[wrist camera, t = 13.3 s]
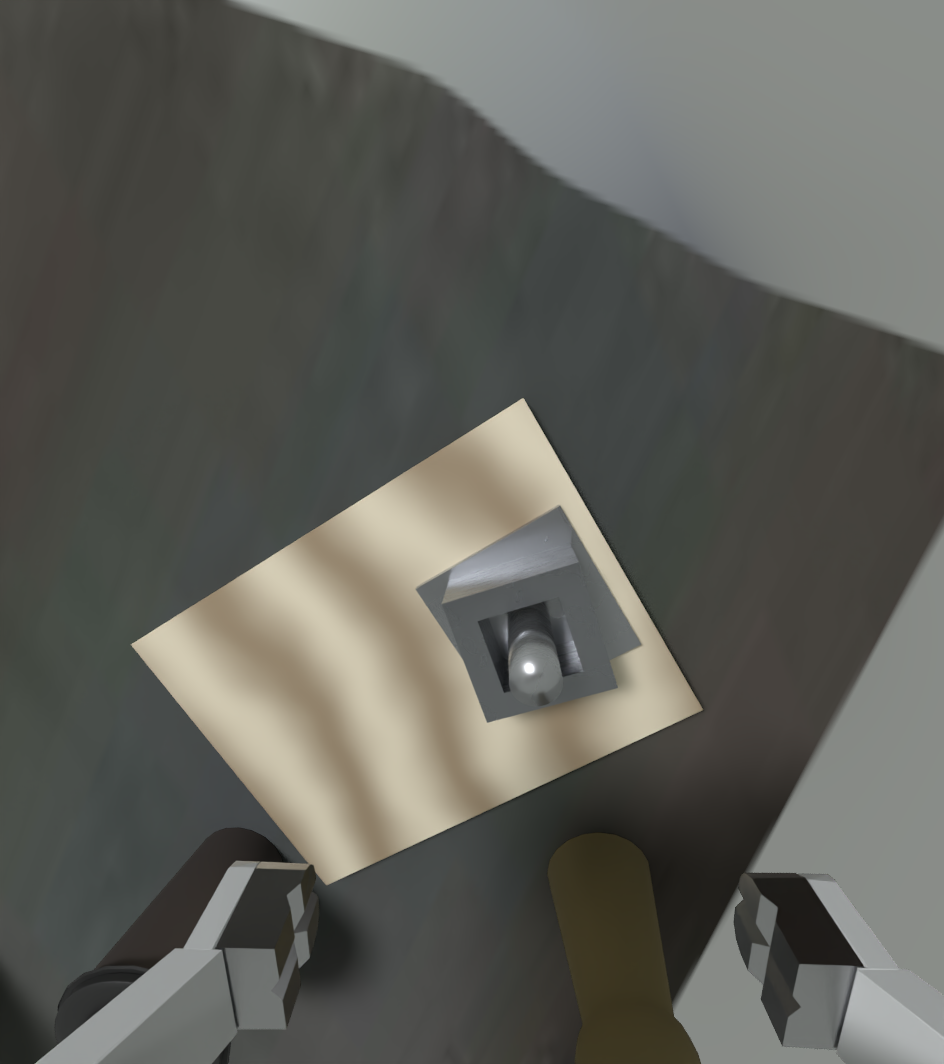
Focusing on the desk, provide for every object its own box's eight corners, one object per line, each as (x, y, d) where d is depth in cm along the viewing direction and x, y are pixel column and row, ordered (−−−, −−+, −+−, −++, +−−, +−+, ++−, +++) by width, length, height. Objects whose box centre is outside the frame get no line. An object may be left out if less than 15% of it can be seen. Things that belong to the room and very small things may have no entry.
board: (333, 867, 31) (326, 885, 30) (146, 634, 28) (131, 644, 27) (694, 696, 27) (702, 709, 26) (522, 398, 24) (523, 398, 22)
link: (489, 686, 26) (487, 722, 23) (449, 580, 24) (441, 603, 21) (604, 654, 25) (618, 688, 22) (569, 542, 23) (578, 562, 21)
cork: (629, 925, 31) (697, 1201, 20) (534, 898, 31) (551, 1161, 20) (665, 848, 29) (758, 1103, 19) (565, 820, 29) (600, 1059, 18)
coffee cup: (172, 802, 31) (19, 986, 21) (303, 815, 30) (208, 1008, 21) (184, 907, 33) (49, 1119, 23) (307, 920, 32) (222, 1141, 23)
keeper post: (500, 710, 26) (499, 805, 20) (416, 586, 25) (387, 646, 19) (639, 640, 25) (684, 718, 19) (559, 504, 23) (579, 539, 17)
